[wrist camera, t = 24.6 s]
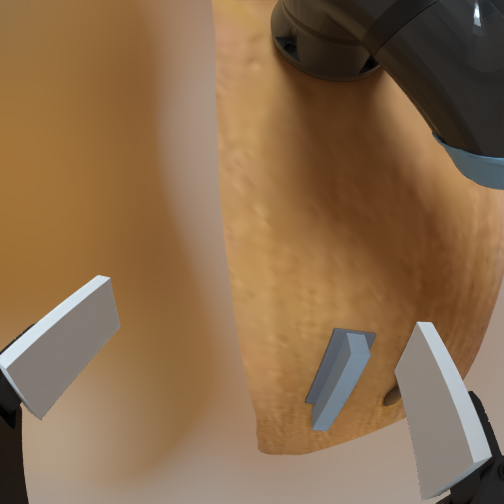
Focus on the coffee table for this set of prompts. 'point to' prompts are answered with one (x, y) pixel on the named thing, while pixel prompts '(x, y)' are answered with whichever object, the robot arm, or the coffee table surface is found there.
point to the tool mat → (332, 360)
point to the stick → (340, 380)
